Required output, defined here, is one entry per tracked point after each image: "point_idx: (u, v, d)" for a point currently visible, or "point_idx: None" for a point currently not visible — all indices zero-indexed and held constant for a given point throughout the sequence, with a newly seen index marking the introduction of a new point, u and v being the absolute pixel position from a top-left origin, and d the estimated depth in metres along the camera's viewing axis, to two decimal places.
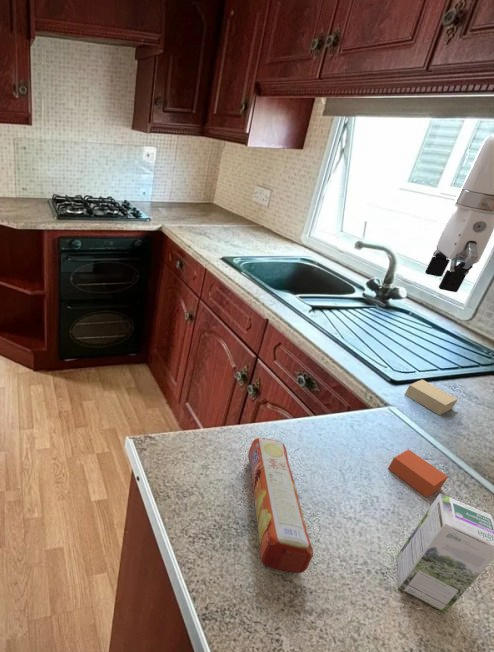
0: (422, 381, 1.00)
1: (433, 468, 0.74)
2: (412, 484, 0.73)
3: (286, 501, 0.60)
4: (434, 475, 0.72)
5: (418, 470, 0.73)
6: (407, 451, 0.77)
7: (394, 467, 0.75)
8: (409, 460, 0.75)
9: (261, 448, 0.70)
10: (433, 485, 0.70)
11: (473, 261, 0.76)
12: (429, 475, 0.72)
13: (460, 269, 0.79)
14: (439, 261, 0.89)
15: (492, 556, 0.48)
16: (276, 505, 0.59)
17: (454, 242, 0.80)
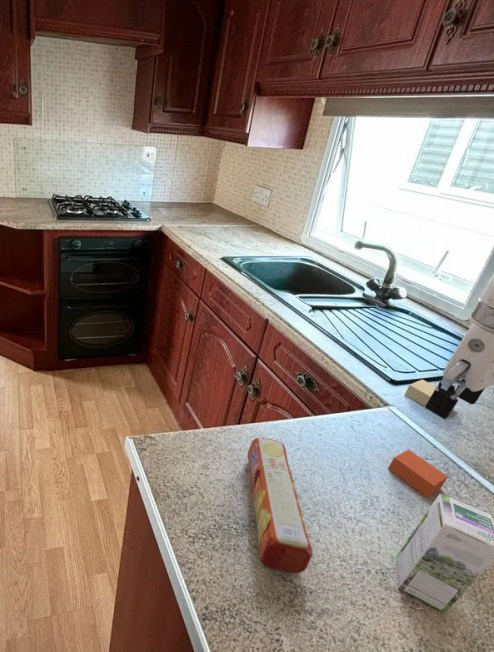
0: (422, 381, 1.00)
1: (433, 468, 0.74)
2: (412, 484, 0.73)
3: (285, 501, 0.60)
4: (434, 475, 0.72)
5: (418, 470, 0.73)
6: (407, 451, 0.77)
7: (394, 467, 0.75)
8: (409, 460, 0.75)
9: (260, 448, 0.70)
10: (433, 485, 0.70)
11: (448, 382, 0.62)
12: (429, 475, 0.72)
13: (441, 389, 0.64)
14: None
15: (492, 556, 0.48)
16: (275, 505, 0.59)
17: None
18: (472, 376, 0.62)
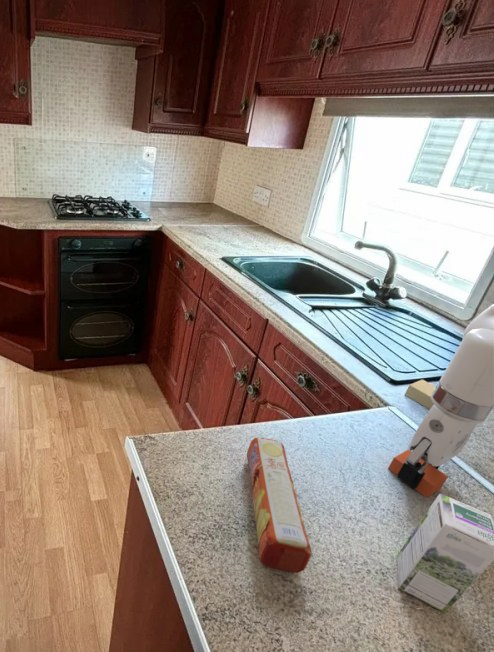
0: (422, 381, 1.00)
1: (433, 468, 0.74)
2: None
3: (284, 501, 0.60)
4: (434, 475, 0.72)
5: None
6: (407, 451, 0.77)
7: (394, 467, 0.75)
8: None
9: (260, 448, 0.70)
10: (433, 485, 0.70)
11: (411, 464, 0.69)
12: (429, 475, 0.72)
13: (409, 464, 0.71)
14: None
15: (492, 556, 0.48)
16: (275, 505, 0.59)
17: None
18: (433, 453, 0.67)
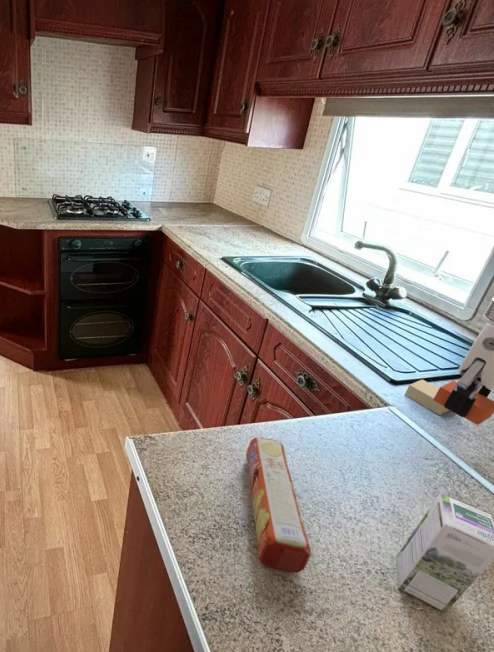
0: (422, 381, 1.00)
1: (482, 396, 0.70)
2: None
3: (284, 500, 0.60)
4: (484, 402, 0.69)
5: None
6: (453, 382, 0.73)
7: (440, 397, 0.72)
8: None
9: (259, 448, 0.70)
10: (485, 411, 0.67)
11: (463, 387, 0.65)
12: (479, 402, 0.68)
13: (459, 389, 0.67)
14: None
15: (492, 556, 0.48)
16: (274, 505, 0.59)
17: None
18: (487, 374, 0.63)
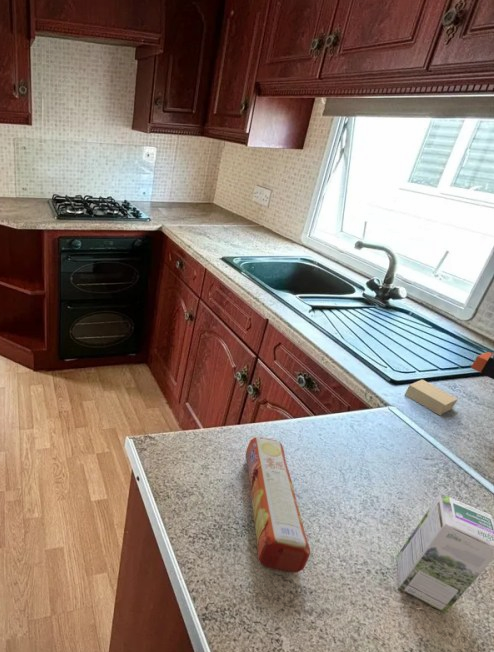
0: (422, 381, 1.00)
1: None
2: None
3: (283, 500, 0.60)
4: None
5: None
6: (487, 352, 0.85)
7: (477, 365, 0.84)
8: None
9: (258, 448, 0.70)
10: None
11: None
12: None
13: None
14: None
15: (492, 556, 0.48)
16: (273, 505, 0.59)
17: None
18: None
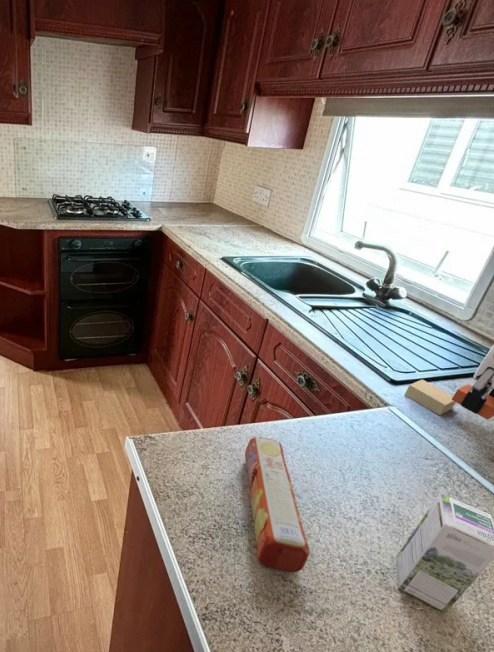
0: (422, 381, 1.00)
1: (491, 397, 0.88)
2: None
3: (282, 500, 0.60)
4: (493, 402, 0.86)
5: None
6: (467, 385, 0.91)
7: (457, 397, 0.90)
8: None
9: (258, 448, 0.70)
10: None
11: (477, 389, 0.83)
12: (489, 402, 0.86)
13: (474, 391, 0.85)
14: (486, 391, 0.89)
15: (492, 556, 0.48)
16: (272, 504, 0.59)
17: (480, 365, 0.84)
18: None
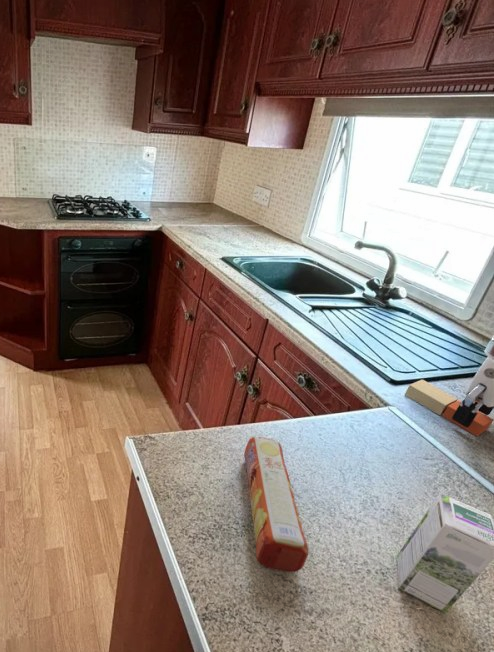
0: (422, 381, 1.00)
1: (481, 414, 0.90)
2: (464, 426, 0.89)
3: (281, 500, 0.60)
4: (482, 418, 0.89)
5: None
6: (457, 401, 0.93)
7: (448, 414, 0.92)
8: None
9: (257, 448, 0.70)
10: (482, 425, 0.87)
11: (470, 401, 0.83)
12: (478, 418, 0.88)
13: (464, 405, 0.85)
14: None
15: (492, 556, 0.48)
16: (272, 504, 0.59)
17: (471, 381, 0.86)
18: (488, 396, 0.83)
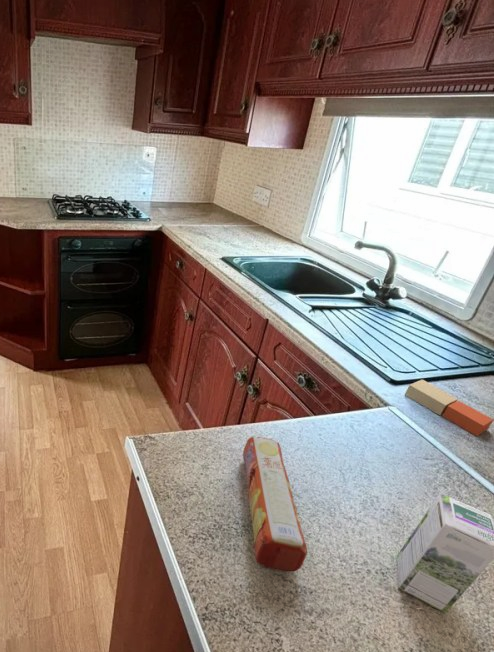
0: (422, 381, 1.00)
1: (481, 414, 0.90)
2: (464, 426, 0.89)
3: (280, 500, 0.60)
4: (482, 418, 0.89)
5: (469, 414, 0.89)
6: (457, 401, 0.93)
7: (448, 414, 0.92)
8: (460, 408, 0.91)
9: (256, 447, 0.70)
10: (482, 425, 0.87)
11: None
12: (478, 418, 0.88)
13: None
14: None
15: (492, 556, 0.48)
16: (270, 504, 0.59)
17: None
18: None
